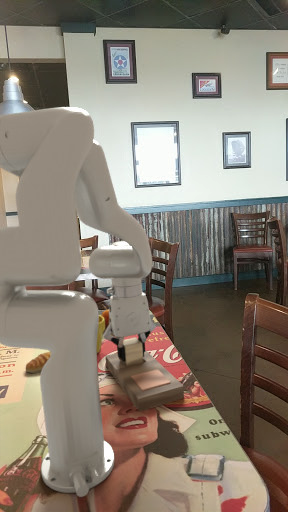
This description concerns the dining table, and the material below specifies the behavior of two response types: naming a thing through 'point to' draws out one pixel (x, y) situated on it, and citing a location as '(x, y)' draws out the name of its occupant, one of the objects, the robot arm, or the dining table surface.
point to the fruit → (106, 318)
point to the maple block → (133, 352)
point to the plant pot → (100, 332)
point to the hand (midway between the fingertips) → (131, 356)
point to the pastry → (38, 363)
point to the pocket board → (145, 381)
